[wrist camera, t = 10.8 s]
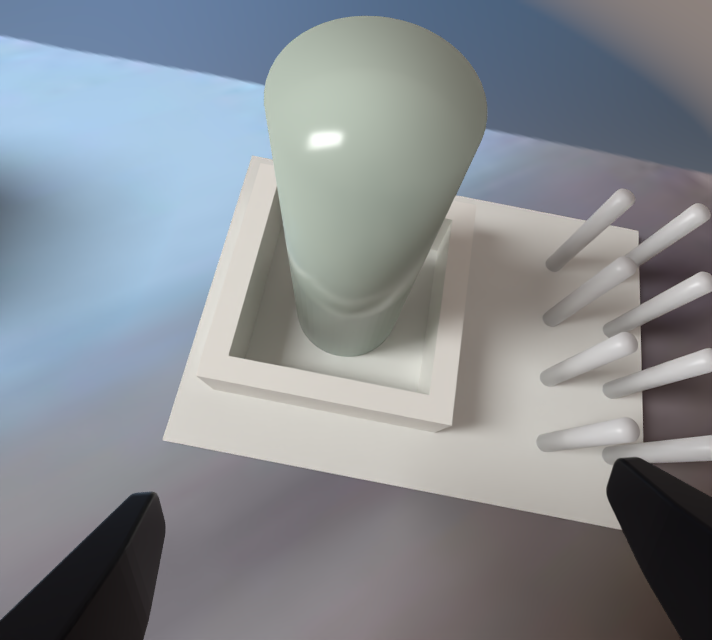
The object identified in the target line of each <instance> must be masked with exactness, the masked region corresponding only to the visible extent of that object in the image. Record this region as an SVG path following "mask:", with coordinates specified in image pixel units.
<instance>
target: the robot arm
mask: <svg viewBox="0 0 712 640" xmlns="http://www.w3.org/2000/svg"><path fill="white" fill-rule="evenodd" d="M606 494H607V498H608V501H609V503H610V505H611V507H612V510H613V512H614V514H615V516H616V518H617V520H618V522H619V524H620V526H621V529H622V531H623V533H624V535H625V537H626V539H627V541H628V543H629V545H630V548H631V550H632V552H633V554H634V556H635V558H636V560H637V562H638V564H639V566H640V568H641V570H642V572H643V574H644V576H645V578H646V579H647V581H648V583H649V585H650V587H651V588H652V590H653V592H654V593H655V595H656V597H657V598H658V600H659V602H660V603H661V605H662V607H663V609H664V610H665V612H666V614H667V615H668V617H669V619H670V620H671V622H672V624H673V625H674V627H675V629H676V631H677V632H678V634H679V636H680V637H681V639H682V640H712V497H710V496H708V495H706V494H705V493H703V492H701V491H699V490H697V489H696V488H694V487H692V486H690V485H688V484H687V483H685V482H683V481H681V480H679V479H678V478H676V477H674V476H672V475H670V474H669V473H667V472H665V471H663V470H661V469H660V468H658V467H656V466H654V465H652V464H650V463H649V462H647V461H645V460H643V459H641V458H639V457H624V458H618V459H617V460H616V461H615V462H614V464H613V467H612V471H611V474H610V477H609V480H608V483H607V487H606ZM164 538H165V520H164V516H163V512H162V508H161V504H160V501H159V497H158V495H157V494H156V493H155V492H141V493H134V494H132V495H130V496H129V497H128V498H127V499H126V500H125V501H124V502H123V503H122V504H121V505H120V506H119V507H118V508H117V509H116V510H115V511H113V512H112V513H111V514H110V515H109V516H108V517H107V518H106V519H105V520H104V521H103V522H102V523H101V524H100V525H99V526H98V527H97V528H96V529H95V530H94V531H93V532H92V533H91V534H90V535H88V536H87V537H86V538H85V539H84V540H83V541H82V542H81V543H80V544H79V545H78V546H77V547H76V548H75V549H74V550H73V551H72V552H71V553H70V554H69V555H68V556H67V557H66V558H65V559H63V560H62V561H61V562H60V563H59V564H58V565H57V566H56V567H55V568H54V569H53V570H52V571H51V572H50V573H49V574H48V575H47V576H46V577H45V578H44V579H43V580H42V581H41V582H40V583H39V584H37V585H36V586H35V587H34V588H33V589H32V590H31V591H30V592H29V593H28V594H27V595H26V596H25V597H24V598H23V599H22V600H21V601H20V602H19V603H18V604H17V605H16V606H15V607H14V608H12V609H11V610H10V611H9V612H8V613H7V614H6V615H5V616H4V617H3V618H2V619H1V620H0V640H143V639H144V635H145V632H146V628H147V624H148V620H149V616H150V611H151V606H152V601H153V596H154V590H155V585H156V580H157V575H158V569H159V564H160V559H161V554H162V548H163V543H164Z"/></svg>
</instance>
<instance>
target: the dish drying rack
mask: <svg viewBox="0 0 712 640" xmlns="http://www.w3.org/2000/svg"><path fill="white" fill-rule="evenodd" d="M634 203H635V197H634V195H633V193H632V192H630V191H629V190H627V189H619V190H617V191H616V192H615V193H614V194H613V195H612V196H611V197H610V198H609V199H608V200H607V201H606V202H605V203H604V204H603V205H602V206H601V207H600V208H599V209H598V210H597V211H596V212H595V213H594V214H593V215H592V216H591V217H590V218H589V219H588V220H587V221H585V220H579V219H574V218H569V217H564V216H559V215H554V214H549V213H544V212H538V211H533V210H528V209H523V208H518V207H513V206H508V205H503V204H497V203H492V202H487V201H482V200H477V199H472V198H467V197H462V196H455V198H454V200H453V202H452V204H451V206H450V208H449V211H448V213H447V215H446V217H445V219H444V221H443V223H442V225H441V228H440V230H439V232H438V234H437V236H436V238H435V240H434V242H433V245H432V247H431V249H430V251H429V253H428V255H427V257H426V260H425V262H424V264H423V266H422V268H421V270H420V272H419V274H418V277H417V279H416V281H415V283H414V285H413V287H412V289H411V291H410V294H409V296H408V298H407V300H406V302H405V304H404V306H403V308H402V311H401V313H400V315H399V317H398V319H397V321H396V323H395V325H394V328H393V330H392V332H391V333H390V335H389V336H388V338H387V339H386V340H385V341H384V342H383V343H382V344H381V345H380V346H379V347H377V348H376V349H374V350H373V351H371V352H368V353H366V354H363V355H360V356H353V357H343V356H336V355H332V354H330V353H327V352H325V351H323V350H321V349H319V348H318V347H316V346H315V345H314V344H313V343H312V342H311V341H310V340H309V339H308V338H307V337H306V335H305V334H304V332H303V331H302V329H301V326H300V324H299V321H298V316H297V309H296V303H295V297H294V290H293V284H292V278H291V271H290V265H289V259H288V252H287V246H286V240H285V233H284V227H283V220H282V214H281V208H280V201H279V195H278V189H277V182H276V176H275V170H274V163H273V160H272V159H267V158H262V157H256V156H252V158H251V161H250V164H249V167H248V170H247V173H246V177H245V180H244V183H243V186H242V189H241V192H240V196H239V199H238V202H237V205H236V208H235V212H234V215H233V218H232V221H231V224H230V227H229V231H228V234H227V237H226V240H225V243H224V246H223V250H222V253H221V256H220V259H219V262H218V265H217V269H216V272H215V275H214V278H213V281H212V285H211V288H210V291H209V294H208V297H207V300H206V304H205V307H204V310H203V313H202V316H201V319H200V323H199V326H198V329H197V332H196V335H195V339H194V342H193V345H192V348H191V351H190V354H189V358H188V361H187V364H186V367H185V370H184V373H183V377H182V380H181V383H180V386H179V389H178V392H177V396H176V399H175V402H174V405H173V408H172V412H171V415H170V418H169V421H168V424H167V427H166V431H165V434H164V437H163V440H164V441H168V442H173V443H178V444H183V445H189V446H194V447H199V448H204V449H209V450H214V451H219V452H224V453H230V454H235V455H240V456H245V457H250V458H255V459H260V460H265V461H271V462H276V463H281V464H286V465H291V466H296V467H301V468H306V469H311V470H317V471H322V472H327V473H332V474H337V475H342V476H347V477H352V478H358V479H363V480H368V481H373V482H378V483H383V484H388V485H393V486H399V487H404V488H409V489H414V490H419V491H424V492H429V493H434V494H439V495H445V496H450V497H455V498H460V499H465V500H470V501H475V502H480V503H486V504H491V505H496V506H501V507H506V508H511V509H516V510H521V511H527V512H532V513H537V514H542V515H547V516H552V517H557V518H562V519H568V520H573V521H578V522H583V523H588V524H593V525H598V526H603V527H608V528H614V529H619V530H622V529H621V526H620V524H619V522H618V520H617V518H616V516H615V514H614V512H613V510H612V507H611V505H610V503H609V501H608V498H607V494H606V487H607V483H608V480H609V477H610V474H611V471H612V467H613V464H614V462H615V461H616V460H617V459H618V458H624V457H639V458H641V459H643V460H645V461H647V462H649V463H671V462H693V461H712V435H708V436H699V437H690V438H681V439H672V440H663V441H654V442H645V443H643V409H642V391H644V390H648V389H651V388H655V387H659V386H662V385H666V384H670V383H673V382H677V381H680V380H684V379H688V378H691V377H695V376H699V375H702V374H706V373H710V372H712V349H711V348H707V349H703V350H701V351H698V352H695V353H692V354H689V355H686V356H683V357H680V358H677V359H674V360H671V361H668V362H665V363H662V364H659V365H656V366H653V367H651V368H648V369H645V370H642V366H641V325H643V324H645V323H647V322H649V321H651V320H653V319H655V318H658V317H660V316H662V315H664V314H666V313H668V312H670V311H672V310H674V309H676V308H678V307H680V306H682V305H684V304H686V303H689V302H691V301H693V300H695V299H697V298H699V297H701V296H703V295H705V294H707V293H709V292H711V291H712V275H711V274H709V273H707V272H699V273H697V274H695V275H694V276H692V277H690V278H688V279H686V280H685V281H683V282H681V283H679V284H677V285H675V286H674V287H672V288H670V289H668V290H666V291H665V292H663V293H661V294H659V295H657V296H655V297H654V298H652V299H650V300H648V301H646V302H645V303H643V304H641V305H640V280H639V266H641V265H642V264H644V263H645V262H647V261H648V260H650V259H651V258H653V257H654V256H656V255H657V254H658V253H660V252H661V251H663V250H664V249H666V248H667V247H669V246H670V245H672V244H673V243H675V242H676V241H678V240H679V239H681V238H682V237H684V236H685V235H687V234H688V233H690V232H691V231H693V230H694V229H696V228H697V227H699V226H700V225H702V224H703V223H704V222H706V221H707V220H709V219H710V217H711V213H710V211H709V209H708V208H707V207H706V206H705V205H703V204H699V203H697V204H694V205H692V206H691V207H689V208H688V209H687V210H685V211H684V212H683V213H681V214H680V215H679V216H677V217H676V218H675V219H673V220H672V221H671V222H669V223H668V224H667V225H665V226H664V227H663V228H661V229H660V230H659V231H657V232H656V233H654V234H653V235H652V236H650V237H649V238H648V239H646V240H645V241H644V242H642V243H641V244H640V245H639V237H638V231H636V230H631V229H626V228H620V227H615V226H610V225H611V224H612V223H613V222H614V221H615V220H616V219H617V218H618V217H620V216H621V215H622V214H623V213H624V212H625V211H626V210H627V209H629V208H630V207H631V206H632V205H633V204H634Z"/></svg>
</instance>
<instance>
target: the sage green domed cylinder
mask: <svg viewBox="0 0 712 640" xmlns="http://www.w3.org/2000/svg"><path fill="white" fill-rule="evenodd" d="M264 106H265V112H266V119H267V125H268V132H269V138H270V144H271V151H272V157H273V163H274V170H275V176H276V182H277V189H278V195H279V201H280V208H281V214H282V220H283V227H284V233H285V240H286V246H287V252H288V259H289V265H290V271H291V278H292V284H293V290H294V297H295V303H296V309H297V316H298V321H299V324H300V326H301V329H302V331H303V332H304V334H305V335H306V337H307V338H308V339H309V340H310V341H311V342H312V343H313V344H314V345H315V346H316V347H318V348H319V349H321V350H323V351H325V352H327V353H330V354H332V355H336V356H343V357H353V356H360V355H363V354H366V353H368V352H371V351H373V350H374V349H376V348H377V347H379V346H380V345H381V344H382V343H383V342H384V341H385V340H386V339H387V338H388V336H389V335H390V333H391V332H392V330H393V328H394V325H395V323H396V321H397V319H398V317H399V315H400V313H401V311H402V308H403V306H404V304H405V302H406V300H407V298H408V296H409V294H410V291H411V289H412V287H413V285H414V283H415V281H416V279H417V277H418V274H419V272H420V270H421V268H422V266H423V264H424V262H425V260H426V257H427V255H428V253H429V251H430V249H431V247H432V245H433V242H434V240H435V238H436V236H437V234H438V232H439V230H440V228H441V225H442V223H443V221H444V219H445V217H446V215H447V213H448V211H449V208H450V206H451V204H452V202H453V200H454V198H455V196H456V194H457V191H458V189H459V187H460V185H461V183H462V181H463V179H464V177H465V174H466V172H467V170H468V168H469V166H470V164H471V162H472V159H473V157H474V155H475V153H476V151H477V149H478V147H479V145H480V142H481V140H482V138H483V135H484V131H485V128H486V121H487V102H486V97H485V93H484V90H483V87H482V84H481V82H480V79H479V77H478V75H477V74H476V72H475V70H474V69H473V67H472V66H471V64H470V63H469V62H468V61H467V59H465V57H464V56H463V55H462V54H461V53H460V52H459V51H458V50H457V49H456V48H455V47H453V46H452V45H451V44H450V43H448V42H447V41H446V40H444V39H443V38H441V37H440V36H438V35H436V34H435V33H433V32H431V31H429V30H427V29H425V28H422V27H420V26H418V25H415V24H412V23H409V22H406V21H402V20H398V19H393V18H387V17H379V16H356V17H347V18H342V19H336V20H333V21H330V22H326V23H323V24H320V25H318V26H315V27H313V28H311V29H309V30H308V31H306V32H304V33H302V34H301V35H299V36H298V37H297V38H295V39H294V40H293V41H291V42H290V43H289V44H288V45H287V46H286V47H285V48H284V49H283V50H282V52H281V53H280V54H279V55H278V57H277V58H276V60H275V61H274V63H273V65H272V67H271V69H270V71H269V74H268V77H267V79H266V84H265V90H264Z"/></svg>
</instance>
